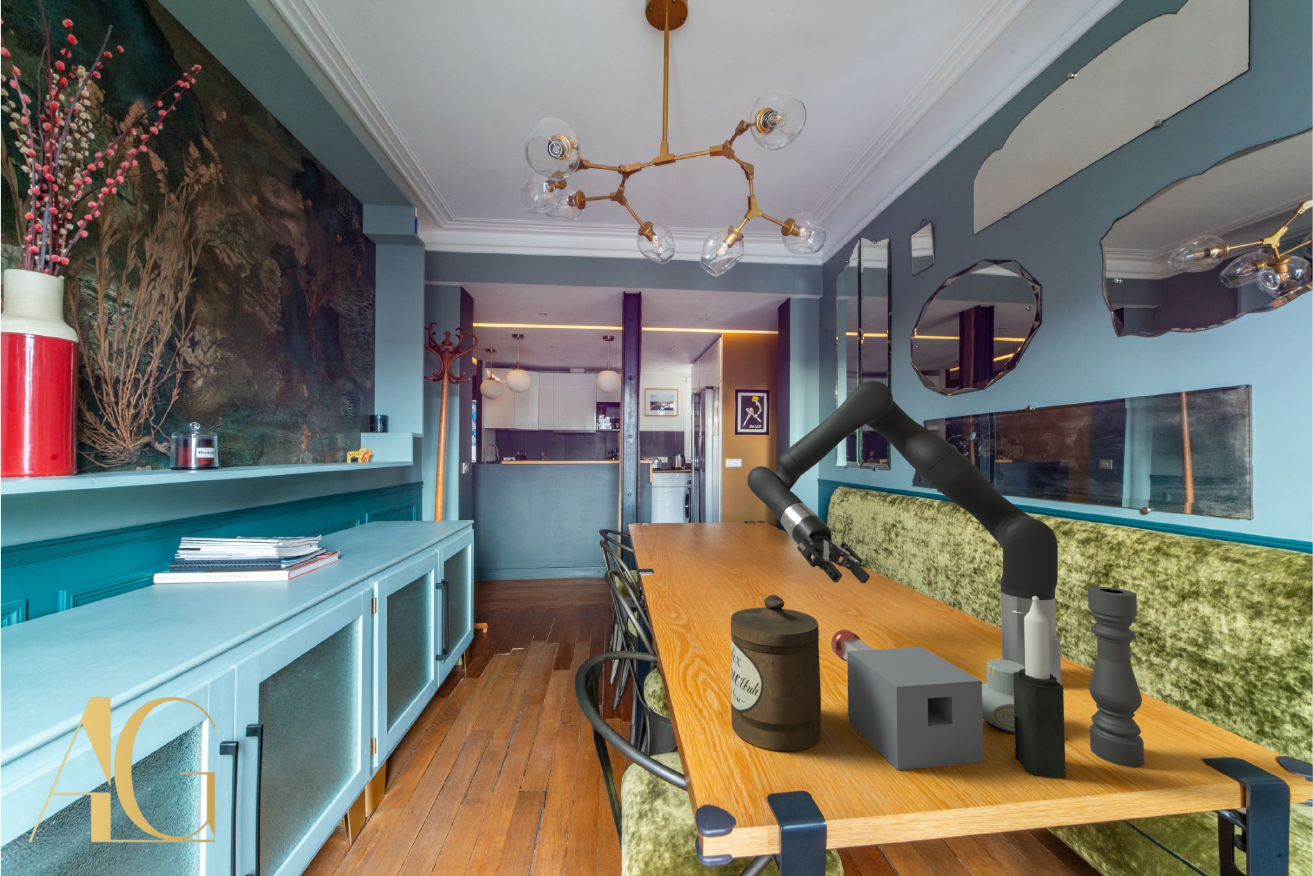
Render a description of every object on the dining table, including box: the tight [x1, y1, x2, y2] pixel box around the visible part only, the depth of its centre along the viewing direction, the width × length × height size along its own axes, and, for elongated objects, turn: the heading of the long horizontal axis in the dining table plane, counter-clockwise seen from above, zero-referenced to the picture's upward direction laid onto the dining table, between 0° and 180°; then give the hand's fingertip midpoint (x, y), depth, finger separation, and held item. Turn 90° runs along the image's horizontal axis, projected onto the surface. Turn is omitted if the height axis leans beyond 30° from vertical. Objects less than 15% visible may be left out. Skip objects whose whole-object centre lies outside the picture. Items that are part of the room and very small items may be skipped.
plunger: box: [830, 629, 876, 662], centre depth 94 cm, size 20×6×6 cm, turn 9°
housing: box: [846, 646, 984, 771], centre depth 83 cm, size 14×14×12 cm
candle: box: [1013, 596, 1066, 779], centre depth 77 cm, size 5×5×25 cm
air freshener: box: [982, 658, 1025, 734], centre depth 89 cm, size 11×8×10 cm
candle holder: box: [1087, 586, 1145, 768], centre depth 80 cm, size 6×6×25 cm
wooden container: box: [730, 594, 822, 752], centre depth 88 cm, size 15×15×22 cm
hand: (853, 579), depth 104 cm, fingers open, 8 cm apart
